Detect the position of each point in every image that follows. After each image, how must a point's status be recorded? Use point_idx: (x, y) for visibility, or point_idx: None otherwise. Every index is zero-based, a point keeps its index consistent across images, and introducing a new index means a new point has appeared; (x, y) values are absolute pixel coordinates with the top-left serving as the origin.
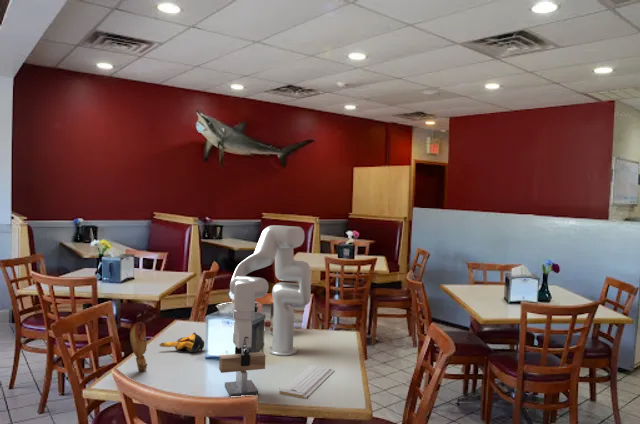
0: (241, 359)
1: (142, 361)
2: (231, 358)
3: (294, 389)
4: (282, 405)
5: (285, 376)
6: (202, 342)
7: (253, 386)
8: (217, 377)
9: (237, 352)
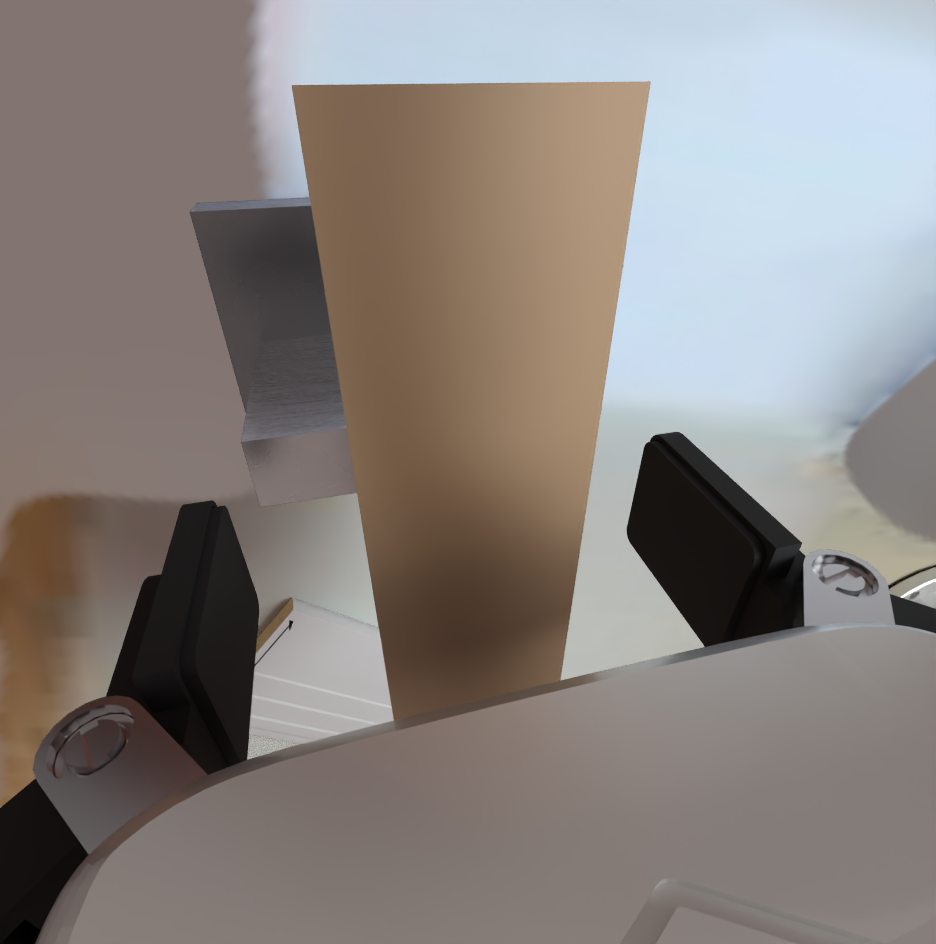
0: (155, 599)
1: None
2: (343, 391)
3: (312, 679)
4: (43, 609)
5: (569, 627)
6: None
7: None
8: (783, 148)
9: (686, 510)
